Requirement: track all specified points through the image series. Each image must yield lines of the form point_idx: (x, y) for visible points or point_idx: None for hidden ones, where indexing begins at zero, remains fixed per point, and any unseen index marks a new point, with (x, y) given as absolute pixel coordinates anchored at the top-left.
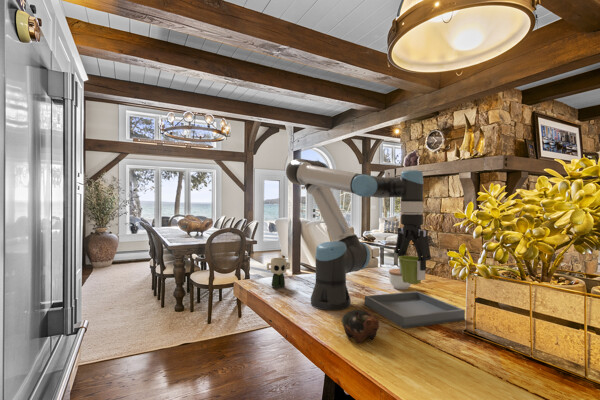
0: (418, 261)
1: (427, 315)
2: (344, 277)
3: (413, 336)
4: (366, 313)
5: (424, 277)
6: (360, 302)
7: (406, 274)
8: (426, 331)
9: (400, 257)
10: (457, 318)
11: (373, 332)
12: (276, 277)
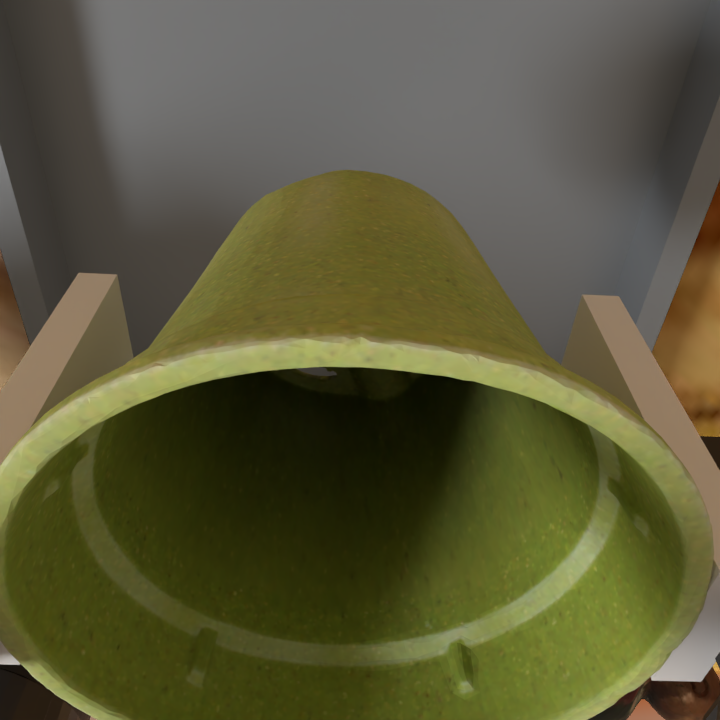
0: (690, 669)
1: (680, 266)
2: (25, 702)
3: (704, 414)
4: (622, 706)
5: (625, 327)
6: (4, 372)
7: (401, 487)
8: (711, 306)
9: (99, 678)
10: None
11: None
12: None
